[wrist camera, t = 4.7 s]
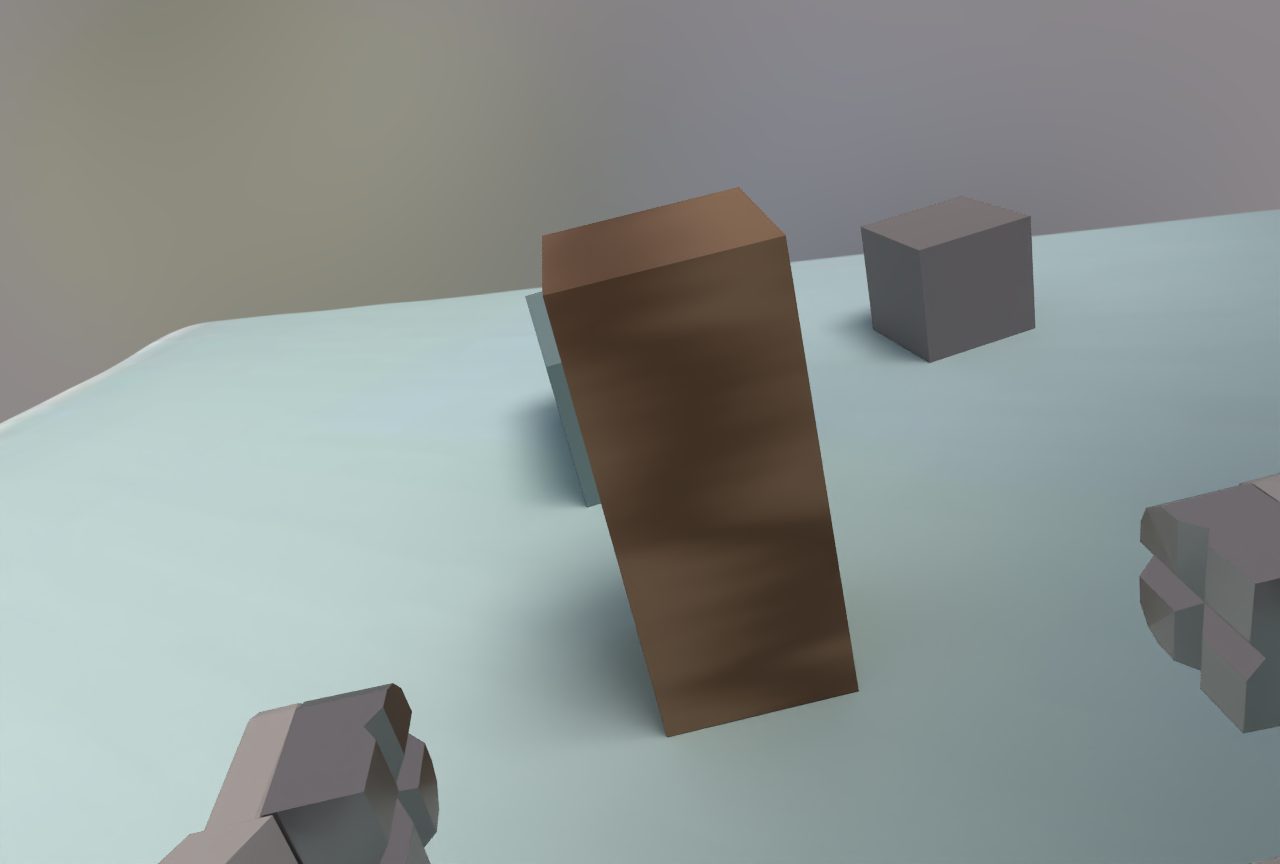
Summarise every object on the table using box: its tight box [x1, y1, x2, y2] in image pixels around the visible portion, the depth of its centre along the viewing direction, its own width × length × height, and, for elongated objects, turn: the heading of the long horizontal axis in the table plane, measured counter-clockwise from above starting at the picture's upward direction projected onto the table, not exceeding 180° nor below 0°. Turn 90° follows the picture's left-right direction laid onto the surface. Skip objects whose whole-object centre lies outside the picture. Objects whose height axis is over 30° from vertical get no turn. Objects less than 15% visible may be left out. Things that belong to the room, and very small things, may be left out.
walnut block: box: [542, 187, 859, 737], centre depth 24 cm, size 5×5×12 cm
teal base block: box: [525, 292, 601, 507], centre depth 39 cm, size 9×9×6 cm
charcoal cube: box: [861, 196, 1035, 363], centre depth 42 cm, size 5×5×5 cm
